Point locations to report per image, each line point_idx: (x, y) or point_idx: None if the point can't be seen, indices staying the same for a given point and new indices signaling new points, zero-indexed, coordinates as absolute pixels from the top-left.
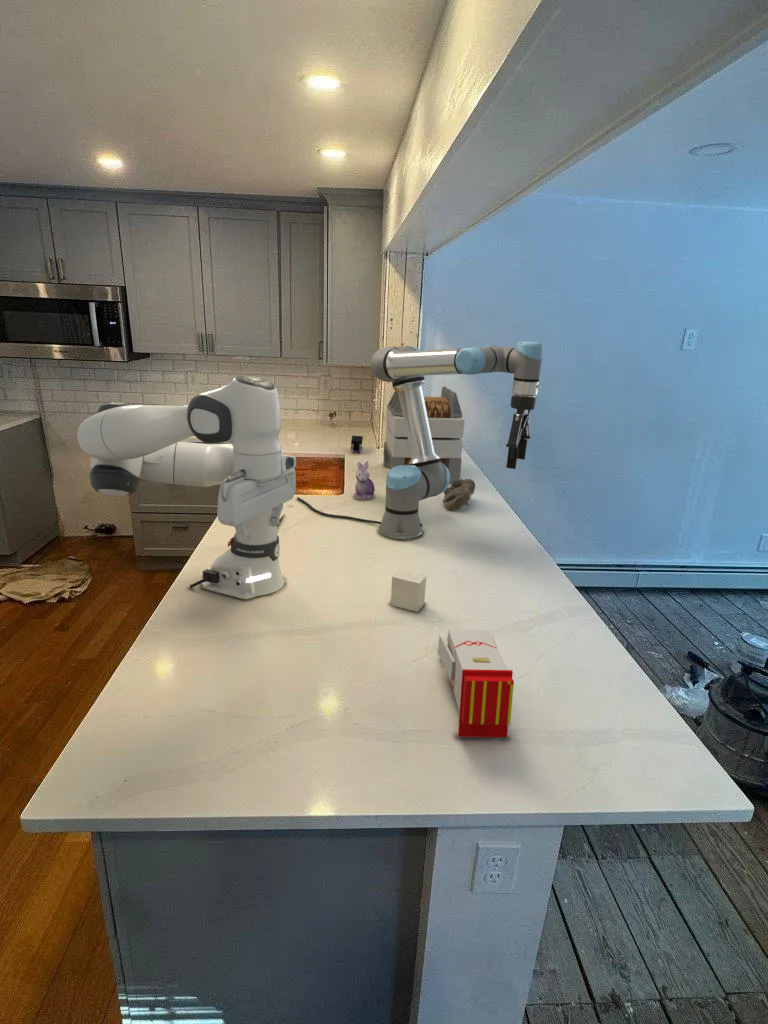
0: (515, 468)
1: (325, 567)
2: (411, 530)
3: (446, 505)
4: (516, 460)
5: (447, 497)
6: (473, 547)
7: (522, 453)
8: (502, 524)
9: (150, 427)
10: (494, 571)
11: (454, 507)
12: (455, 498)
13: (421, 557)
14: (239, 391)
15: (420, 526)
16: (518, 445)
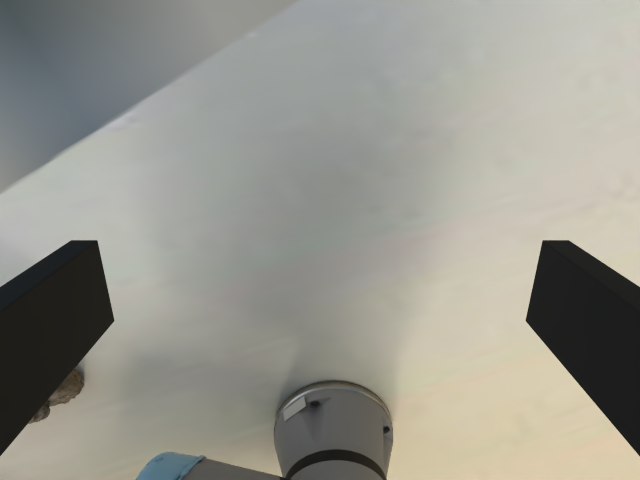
0: (555, 241)
1: (605, 473)
2: (370, 412)
3: (69, 399)
4: (610, 281)
5: (42, 419)
6: (333, 236)
7: (67, 299)
8: (75, 206)
9: None
10: (486, 131)
11: (73, 375)
12: (49, 398)
13: (471, 334)
14: None
15: (309, 403)
16: (18, 421)
